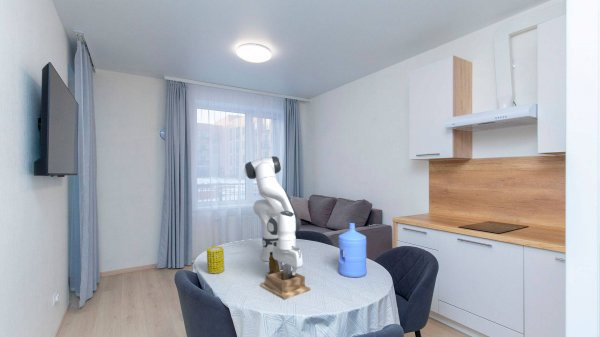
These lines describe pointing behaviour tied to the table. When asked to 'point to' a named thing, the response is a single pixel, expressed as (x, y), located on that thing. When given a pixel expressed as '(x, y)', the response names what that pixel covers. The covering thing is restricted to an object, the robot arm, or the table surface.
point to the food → (215, 259)
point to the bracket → (286, 272)
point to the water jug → (352, 253)
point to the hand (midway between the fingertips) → (287, 272)
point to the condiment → (273, 264)
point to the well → (285, 285)
